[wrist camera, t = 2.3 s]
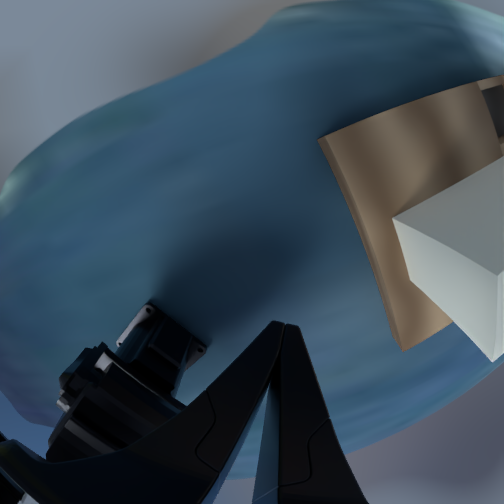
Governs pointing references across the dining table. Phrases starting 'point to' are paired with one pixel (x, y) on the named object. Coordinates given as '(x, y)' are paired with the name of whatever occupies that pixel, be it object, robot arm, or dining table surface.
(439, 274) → the light gray block
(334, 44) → the dining table surface
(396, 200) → the trap deck
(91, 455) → the robot arm
